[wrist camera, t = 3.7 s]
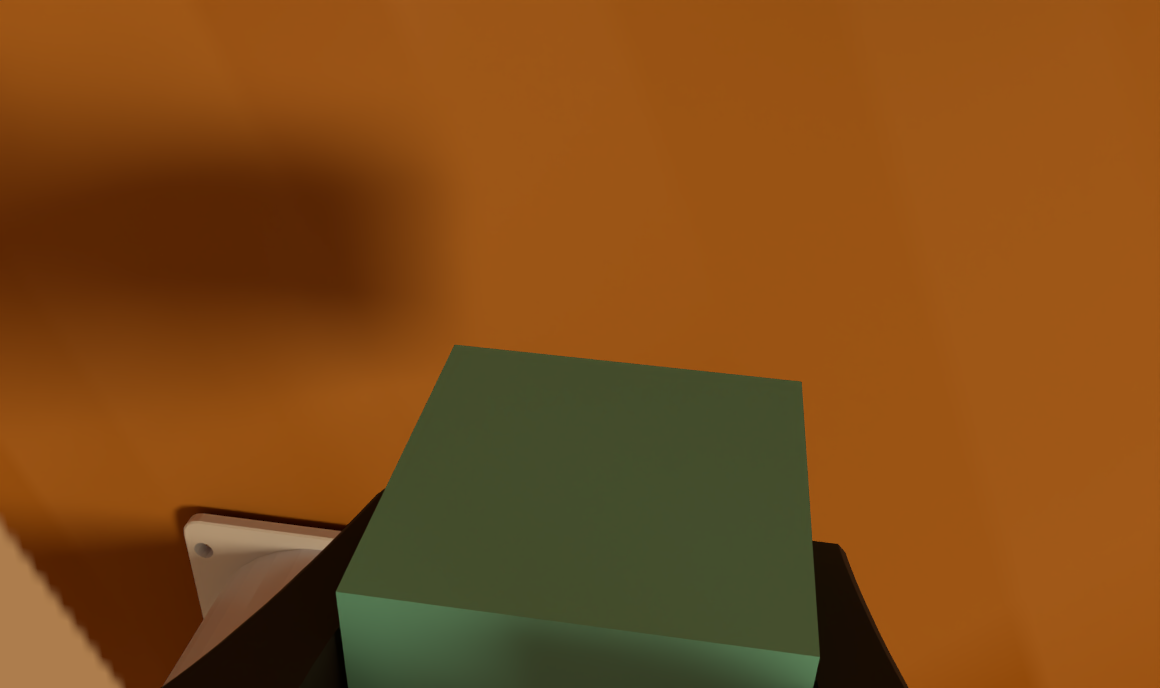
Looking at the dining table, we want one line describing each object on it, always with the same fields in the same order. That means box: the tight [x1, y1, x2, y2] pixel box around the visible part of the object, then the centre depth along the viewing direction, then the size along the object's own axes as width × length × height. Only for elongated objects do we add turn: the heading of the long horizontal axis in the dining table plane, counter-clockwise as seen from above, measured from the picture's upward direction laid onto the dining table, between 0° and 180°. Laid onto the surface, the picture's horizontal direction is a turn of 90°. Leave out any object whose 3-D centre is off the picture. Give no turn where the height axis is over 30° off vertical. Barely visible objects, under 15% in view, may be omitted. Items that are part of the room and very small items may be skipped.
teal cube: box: [336, 345, 820, 688], centre depth 12 cm, size 4×4×4 cm
